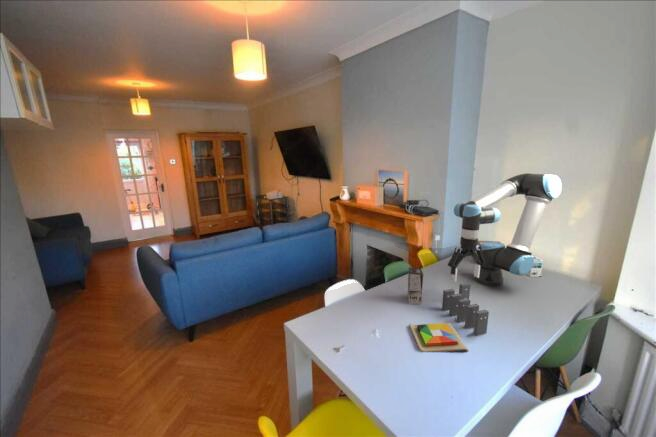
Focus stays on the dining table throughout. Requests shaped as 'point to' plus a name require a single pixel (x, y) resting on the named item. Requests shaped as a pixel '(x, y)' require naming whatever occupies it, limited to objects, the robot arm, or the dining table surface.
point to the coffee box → (415, 285)
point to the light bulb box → (536, 268)
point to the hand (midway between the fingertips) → (465, 278)
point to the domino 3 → (464, 290)
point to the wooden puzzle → (437, 337)
